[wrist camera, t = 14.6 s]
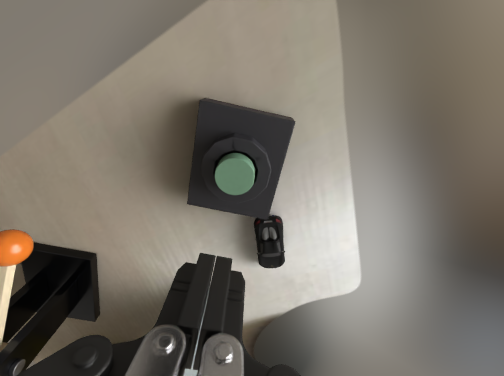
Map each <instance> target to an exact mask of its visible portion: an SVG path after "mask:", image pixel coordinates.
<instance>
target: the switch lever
mask: <svg viewBox="0 0 504 376" xmlns="http://www.w3.org/2000/svg"><path fill="white" fill-rule="evenodd" d="M33 247H34V243H33V240H32V238H31V237H30V235H28V234H27V233H25V232H23V231H20V230H14V229H12V230H4V231H0V352H1V351H2V350H3V349H4V348H5V347H6V345H7V344H8V343H5V342H2V340H3V334H4V329H5V323H6V318H7V312H8V307H9V301H10V295H11V290H12V284H13V279H14V273H15V268H16V264H19V263H21V262H23V261H24V260H25V259H27V258H28V257H29V255H30V254H31V253H32V250H33Z"/></svg>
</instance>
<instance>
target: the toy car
mask: <svg viewBox="0 0 504 376" xmlns="http://www.w3.org/2000/svg"><path fill="white" fill-rule="evenodd" d="M254 228H255V235H256V241H257V250H258V253H257V254H258V261H259V264H260V265H261V266H262V267H264V268H277V267H280V266H282V265H283V264H284V262H285V258H284V252H285V251H284V245H283V223H282V219H281V218H280V217H279V216H274V215H272V216H268V219H267V220H265V219H260V218H256V219H255V222H254Z"/></svg>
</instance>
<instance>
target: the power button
mask: <svg viewBox="0 0 504 376" xmlns="http://www.w3.org/2000/svg"><path fill="white" fill-rule="evenodd" d="M254 179H255V168H254V165H253V163H252V161H251V160H250V159H249V158H248V157H247V156H246V155H244V154H241V153H230V154H227V155H225V156H224V157H223V158H222V159H221V160H220V162H219V163H218V166H217V168H216V170H215V181H216V184H217V185H218V187H219V188H220V189H221V190H222V191H223V192H225V193H227V194H230V195H240V194H243V193H245V192H247V191H248V190H249V189H250V188H251V187H252V185H253V183H254Z"/></svg>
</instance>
